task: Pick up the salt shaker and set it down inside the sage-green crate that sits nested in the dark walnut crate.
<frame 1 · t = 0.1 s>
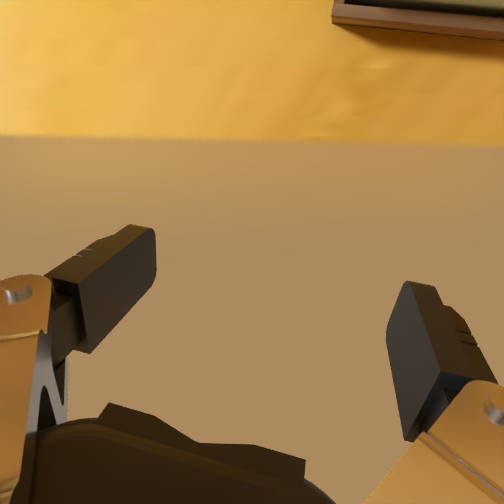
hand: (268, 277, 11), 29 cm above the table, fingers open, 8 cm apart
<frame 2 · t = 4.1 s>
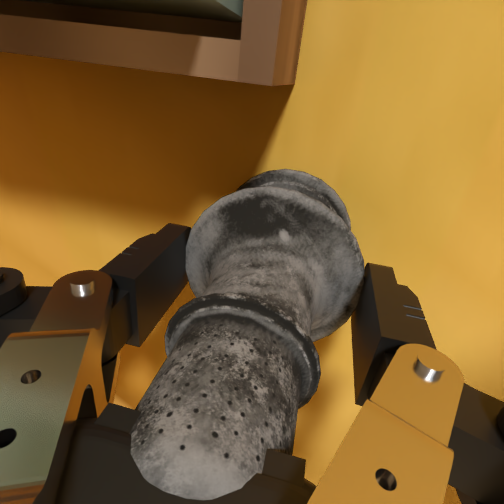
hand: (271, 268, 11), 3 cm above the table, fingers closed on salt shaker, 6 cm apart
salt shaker: (285, 231, 14), on the table, touching gripper
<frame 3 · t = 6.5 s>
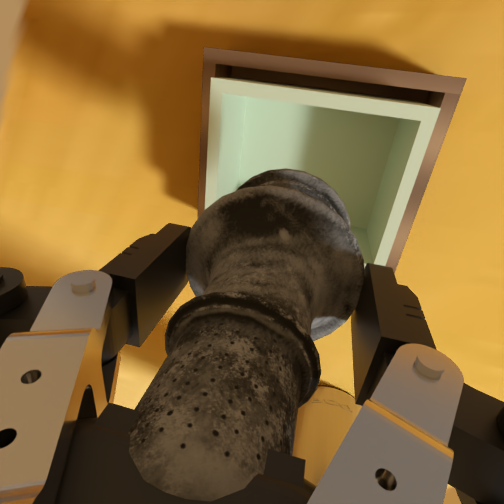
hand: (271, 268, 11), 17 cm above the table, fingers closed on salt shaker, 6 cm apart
green crate: (310, 161, 26), point 1 cm above the table, touching walnut crate
walnut crate: (311, 159, 26), on the table
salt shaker: (285, 230, 14), point 14 cm above the table, touching gripper
when the fingers open (7 cm above the table, at t = 9.2 s): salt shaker drops 3 cm, resting on green crate.
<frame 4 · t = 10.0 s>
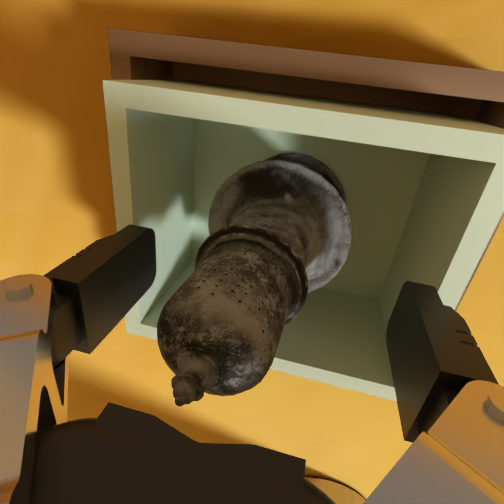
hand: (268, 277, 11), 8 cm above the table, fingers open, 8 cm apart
green crate: (295, 203, 17), point 1 cm above the table, touching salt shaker, walnut crate
walnut crate: (297, 198, 18), on the table
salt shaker: (291, 206, 17), point 1 cm above the table, touching green crate
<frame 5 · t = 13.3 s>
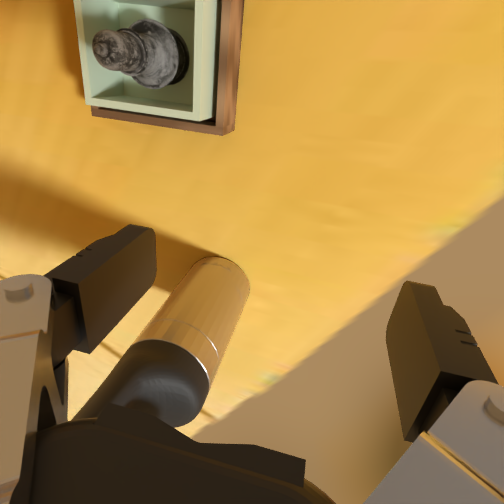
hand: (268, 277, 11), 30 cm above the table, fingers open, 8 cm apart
green crate: (169, 57, 36), point 1 cm above the table, touching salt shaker, walnut crate
walnut crate: (172, 57, 37), on the table
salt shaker: (166, 57, 36), point 1 cm above the table, touching green crate
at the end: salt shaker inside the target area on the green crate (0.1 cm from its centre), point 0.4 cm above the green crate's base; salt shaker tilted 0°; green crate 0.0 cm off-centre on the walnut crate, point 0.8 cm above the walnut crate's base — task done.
